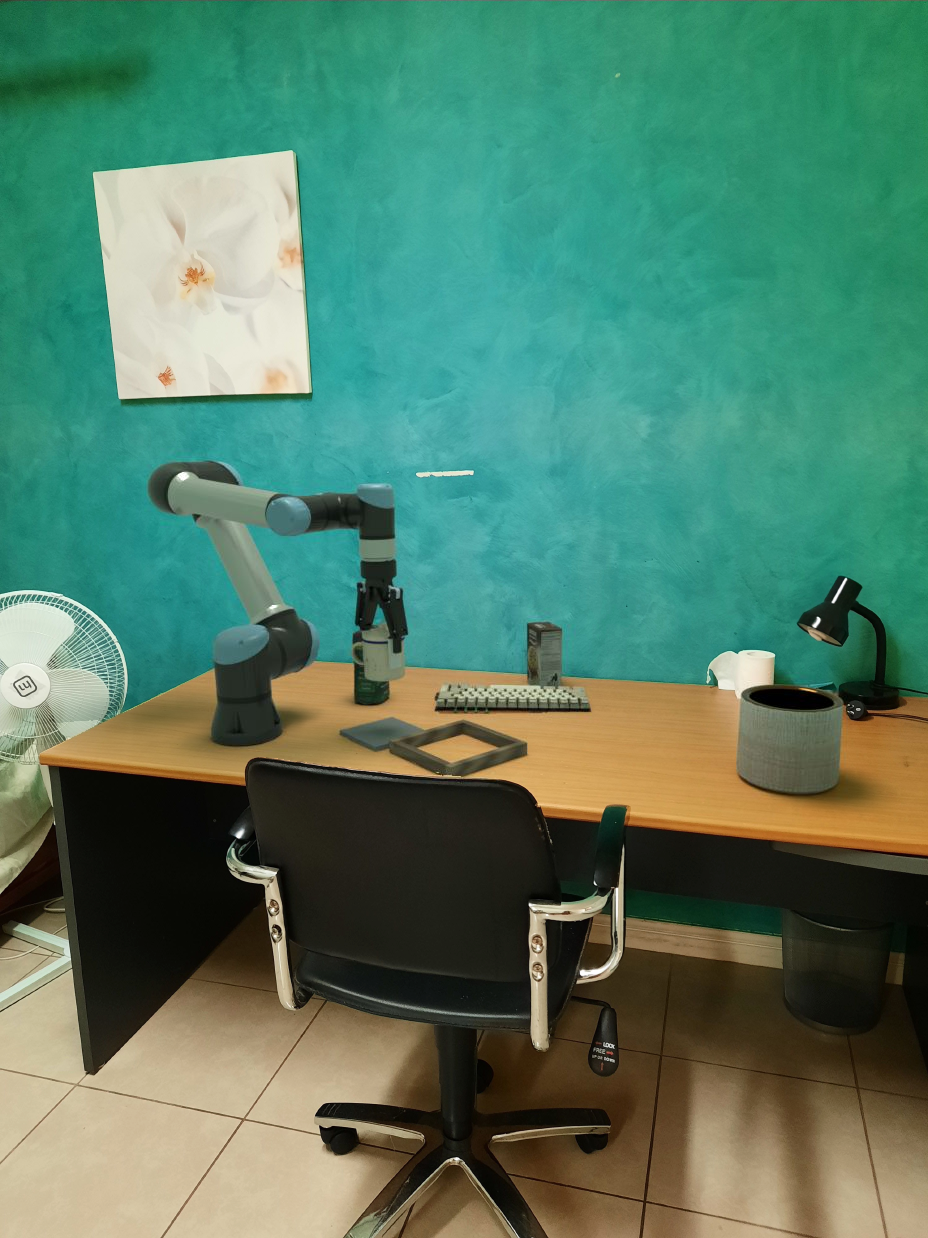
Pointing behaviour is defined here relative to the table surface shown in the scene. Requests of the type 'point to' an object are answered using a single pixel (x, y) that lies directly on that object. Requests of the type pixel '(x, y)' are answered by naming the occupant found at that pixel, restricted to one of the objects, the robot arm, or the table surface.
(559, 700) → the mechanical keyboard
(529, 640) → the coffee box
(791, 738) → the planter
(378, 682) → the coffee jar
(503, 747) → the frame
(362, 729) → the mat
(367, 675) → the teacup with lid
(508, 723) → the table surface
